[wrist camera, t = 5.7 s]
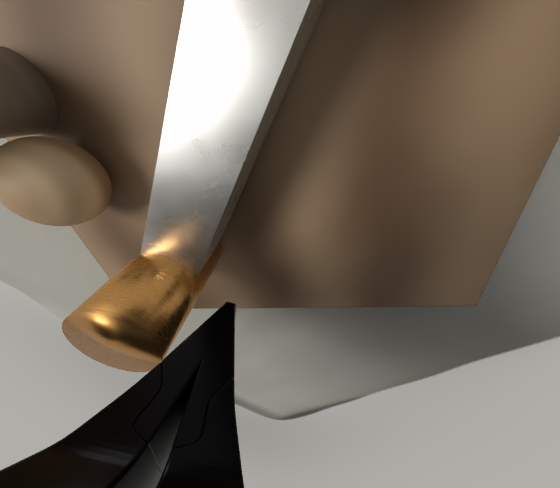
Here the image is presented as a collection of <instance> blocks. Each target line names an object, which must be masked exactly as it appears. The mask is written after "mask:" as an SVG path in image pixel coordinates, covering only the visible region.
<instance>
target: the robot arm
mask: <svg viewBox="0 0 560 488" xmlns="http://www.w3.org/2000/svg"><path fill="white" fill-rule="evenodd" d="M235 313H236V304H235V303H231V302H225V304H224V305H223V306H222V307H221V308H220V309H219V310H217V311H216V312H215V313H214V314H213V315H212V316H211V317H210V318H209V319H208V320H206V321H205V322H204V323H203V324H202V325H201V326H200V327H199V328H198V329H196V330H195V331H194V332H193V333H192V334H191V335H190V336H189V337H188V338H187V339H185V340H184V341H183V342H182V343H181V344H180V345H179V346H178V347H177V348H175V349H174V350H173V351H172V352H171V353H170V354H169V355H168V356H167V357H166V358H164V359H163V360H162V363H161V362H160V363H159V364H158V365H157V366H155V367H154V368H153V369H152V370H151V371H150V372H149V373H148V374H146V375H145V376H144V377H143V378H142V379H141V380H140V381H138V382H137V383H136V384H135V385H133V386H132V387H131V388H130V389H128V390H127V391H126V392H125V393H123V394H122V395H121V396H119V397H118V398H117V399H116V400H114V401H113V402H112V403H110V404H109V405H108V406H106V407H105V408H104V409H102V410H101V411H100V412H99V413H97V414H96V415H95V416H93V417H92V418H91V419H89V420H88V421H87V422H85V423H84V424H83V425H82V426H80V427H79V428H78V429H76V430H75V431H73V432H72V433H71V434H69V435H68V436H66V437H65V438H63V439H62V440H60V441H58V442H57V443H55V444H53V445H51V446H50V447H48V448H46V449H44V450H42V451H40V452H38V453H36V454H34V455H32V456H30V457H28V458H25V459H23V460H21V461H19V462H17V463H15V464H13V465H11V466H9V467H7V468H5V469H3V470H0V488H244V483H243V476H242V469H241V460H240V451H239V443H238V434H237V426H236V417H235V416H236V415H235V399H234V339H235Z"/></svg>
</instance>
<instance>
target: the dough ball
mask: <svg viewBox="0 0 560 488" xmlns="http://www.w3.org/2000/svg"><path fill="white" fill-rule="evenodd" d="M111 193H112V187H111V181H110V178H109V175H108V173H107V172H106V170H105V168H104V167H103V166H102V164H101V163H100V162H99V161H98V160H97V159H96V158H95V157H94V156H92V155H91V154H90V153H89V152H87V151H86V150H84V149H82V148H81V147H79V146H77V145H75V144H72V143H70V142H67V141H64V140H61V139H57V138H52V137H43V136H29V137H22V138H18V139H14V140H12V141H9V142H7V143H5V144H4V145H2V146H0V202H1V203H2V204H3V205H4V206H5V207H7V208H8V209H9V210H11V211H12V212H14V213H15V214H17V215H19V216H21V217H23V218H25V219H28V220H30V221H33V222H36V223H40V224H45V225H52V226H71V225H77V224H81V223H85V222H87V221H90V220H92V219H93V218H95V217H97V216H98V215H99V214H100V213H102V212H103V211H104V210H105V208H106V207H107V205H108V204H109V201H110V199H111Z"/></svg>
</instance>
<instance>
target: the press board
mask: <svg viewBox="0 0 560 488" xmlns="http://www.w3.org/2000/svg"><path fill="white" fill-rule="evenodd" d="M184 5H185V0H0V138H6V139H7V140H8V142H9V141H12V140H14V139H18V138H22V137H29V136H43V137H52V138H57V139H61V140H64V141H67V142H70V143H72V144H75V145H77V146H79V147H81V148H82V149H84V150H86V151H87V152H89V153H90V154H91V155H92V156H94V157H95V158H96V159H97V160H98V161H99V162H100V163H101V164H102V166H103V167H104V168H105V170H106V172H107V173H108V175H109V178H110V181H111V187H112V193H111V199H110V201H109V204H108V205H107V207H106V208H105V210H104V211H103V212H102V213H100V214H99V215H98V216H97V217H95V218H93V219H92V220H90V221H87V222H85V223H81V224H77V225H71V227H72V228H73V229H74V231H75V232H76V233H77V235H78V236H79V237H80V239H81V240H82V242H83V243H84V244H85V246H86V247H87V248H88V250H89V251H90V252H91V254H92V255H93V256H94V258H95V259H96V260H97V262H98V263H99V264H100V266H101V267H102V269H103V270H104V271H105V273H106V274H107V275H108V277H109V278H110V279H111V278H112V277H113V276H114V275H115V274H116V273H118V272H119V271H120V270H121V269H122V268H123V267H124V266H125V265H127V264H128V263H129V262H130V261H131V260H132V259H133V258H134V257H136V256H137V255H138V254H139V253H140V252H141V248H142V242H143V237H144V231H145V225H146V220H147V214H148V208H149V203H150V197H151V191H152V186H153V180H154V174H155V169H156V163H157V157H158V152H159V146H160V140H161V135H162V129H163V124H164V118H165V112H166V107H167V101H168V95H169V90H170V84H171V78H172V73H173V67H174V61H175V56H176V50H177V44H178V39H179V33H180V27H181V22H182V16H183V10H184ZM559 135H560V0H326V2H325V4H324V6H323V8H322V11H321V13H320V15H319V17H318V20H317V22H316V24H315V27H314V29H313V31H312V33H311V36H310V38H309V40H308V42H307V45H306V47H305V49H304V52H303V54H302V56H301V58H300V61H299V63H298V65H297V68H296V70H295V72H294V74H293V77H292V79H291V81H290V83H289V86H288V88H287V90H286V93H285V95H284V97H283V99H282V102H281V104H280V106H279V108H278V111H277V113H276V115H275V118H274V120H273V122H272V124H271V127H270V129H269V131H268V133H267V136H266V138H265V140H264V143H263V145H262V147H261V149H260V152H259V154H258V156H257V159H256V161H255V163H254V165H253V168H252V170H251V172H250V174H249V177H248V179H247V181H246V184H245V186H244V188H243V190H242V193H241V195H240V197H239V199H238V202H237V204H236V206H235V209H234V211H233V213H232V215H231V218H230V220H229V222H228V225H227V227H226V229H225V231H224V234H223V236H222V238H221V240H220V243H221V246H222V256H221V258H220V260H219V262H218V264H217V265H216V267H215V269H214V271H213V272H212V274H211V276H210V278H209V279H208V281H207V283H206V285H205V286H204V288H203V290H202V292H201V294H200V295H199V297H198V299H197V301H196V302H195V304H194V306H193V308H221V307H222V306H223V305H224V304H225V302H231V303H235V304H236V308H289V307H392V306H476V305H477V303H478V301H479V298H480V296H481V294H482V292H483V290H484V288H485V286H486V284H487V282H488V280H489V278H490V276H491V274H492V272H493V270H494V268H495V266H496V264H497V262H498V260H499V258H500V256H501V254H502V252H503V249H504V247H505V245H506V243H507V241H508V239H509V237H510V235H511V233H512V231H513V229H514V227H515V225H516V223H517V221H518V219H519V217H520V215H521V213H522V211H523V209H524V207H525V205H526V203H527V200H528V198H529V196H530V194H531V192H532V190H533V188H534V186H535V184H536V182H537V180H538V178H539V176H540V174H541V172H542V170H543V168H544V166H545V164H546V162H547V160H548V158H549V156H550V154H551V152H552V149H553V147H554V145H555V143H556V141H557V139H558V137H559Z"/></svg>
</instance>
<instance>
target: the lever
mask: <svg viewBox="0 0 560 488" xmlns="http://www.w3.org/2000/svg"><path fill="white" fill-rule="evenodd" d="M325 2H326V0H185V5H184V10H183V16H182V22H181V27H180V33H179V39H178V44H177V50H176V56H175V61H174V67H173V73H172V78H171V84H170V90H169V95H168V101H167V107H166V112H165V118H164V124H163V129H162V135H161V140H160V146H159V152H158V157H157V163H156V169H155V174H154V180H153V186H152V191H151V197H150V203H149V208H148V214H147V220H146V225H145V231H144V237H143V242H142V248H141V252H140V253H139V254H138V255H137V256H136V257H134V258H133V259H132V260H131V261H130V262H129V263H128V264H127V265H125V266H124V267H123V268H122V269H121V270H120V271H119V272H118V273H116V274H115V275H114V276H113V277H112V278H111V279H110V280H108V281H107V282H106V283H105V284H104V285H103V286H102V287H101V288H99V289H98V290H97V291H96V292H95V293H94V294H93V295H92V296H90V297H89V298H88V299H87V300H86V301H85V302H84V303H83V304H81V305H80V306H79V307H78V308H77V309H76V310H75V311H74V312H72V313H71V314H70V315H69V316H68V317H67V318H66V319H65V320H64V321H63V323H62V330H63V333H64V335H65V336H66V338H67V339H68V340H69V341H70V343H72V345H74V346H75V347H76V348H77V349H78V350H80V351H81V352H82V353H84V354H86V355H87V356H89V357H91V358H92V359H94V360H97V361H99V362H101V363H103V364H105V365H108V366H111V367H114V368H118V369H121V370H126V371H132V372H147V371H151V370H152V369H153V368H154V367H155V366H157V365H158V364H159V363H160V362H162V360H163V359H164V357H165V355H166V353H167V352H168V350H169V348H170V346H171V345H172V343H173V341H174V339H175V338H176V336H177V334H178V332H179V331H180V329H181V327H182V325H183V324H184V322H185V320H186V318H187V316H188V315H189V313H190V311H191V309H192V308H193V306H194V304H195V302H196V301H197V299H198V297H199V295H200V294H201V292H202V290H203V288H204V286H205V285H206V283H207V281H208V279H209V278H210V276H211V274H212V272H213V271H214V269H215V267H216V265H217V264H218V262H219V260H220V258H221V256H222V246H221V243H220V240H221V238H222V236H223V234H224V231H225V229H226V227H227V225H228V222H229V220H230V218H231V215H232V213H233V211H234V209H235V206H236V204H237V202H238V199H239V197H240V195H241V193H242V190H243V188H244V186H245V184H246V181H247V179H248V177H249V174H250V172H251V170H252V168H253V165H254V163H255V161H256V159H257V156H258V154H259V152H260V149H261V147H262V145H263V143H264V140H265V138H266V136H267V133H268V131H269V129H270V127H271V124H272V122H273V120H274V118H275V115H276V113H277V111H278V108H279V106H280V104H281V102H282V99H283V97H284V95H285V93H286V90H287V88H288V86H289V83H290V81H291V79H292V77H293V74H294V72H295V70H296V68H297V65H298V63H299V61H300V58H301V56H302V54H303V52H304V49H305V47H306V45H307V42H308V40H309V38H310V36H311V33H312V31H313V29H314V27H315V24H316V22H317V20H318V17H319V15H320V13H321V11H322V8H323V6H324V4H325Z"/></svg>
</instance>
